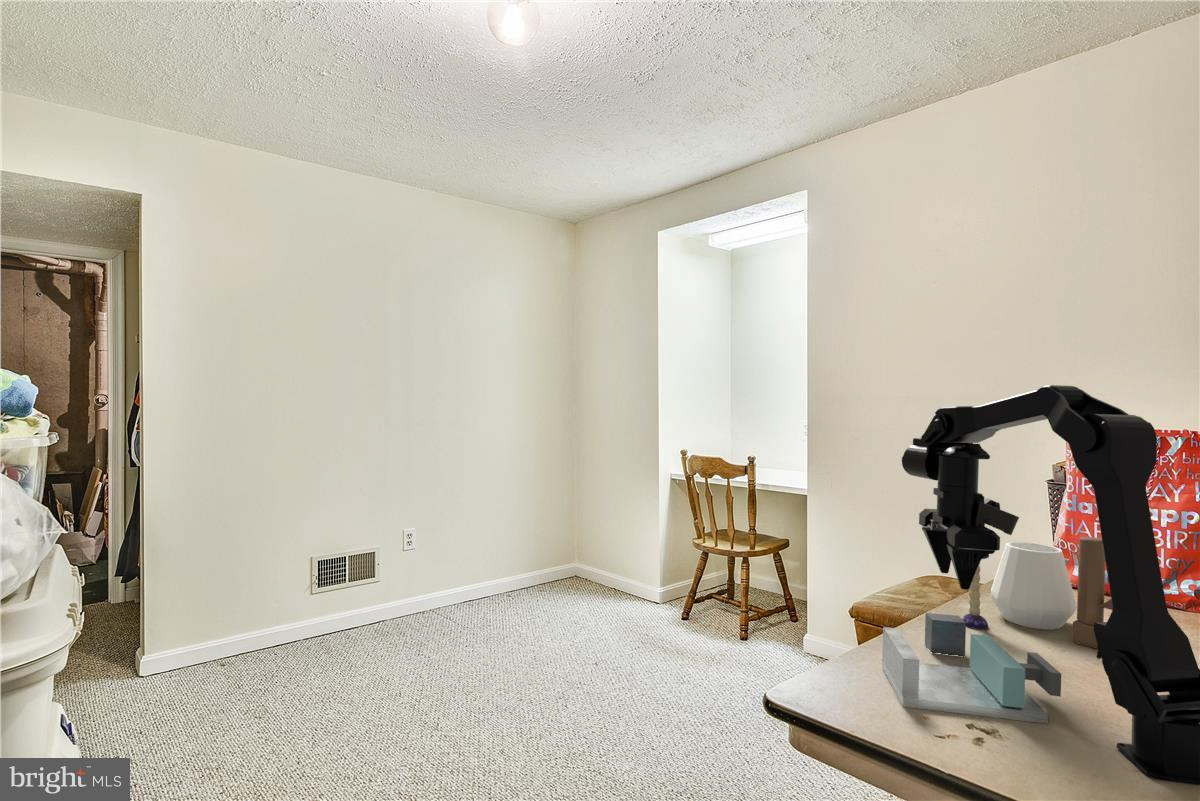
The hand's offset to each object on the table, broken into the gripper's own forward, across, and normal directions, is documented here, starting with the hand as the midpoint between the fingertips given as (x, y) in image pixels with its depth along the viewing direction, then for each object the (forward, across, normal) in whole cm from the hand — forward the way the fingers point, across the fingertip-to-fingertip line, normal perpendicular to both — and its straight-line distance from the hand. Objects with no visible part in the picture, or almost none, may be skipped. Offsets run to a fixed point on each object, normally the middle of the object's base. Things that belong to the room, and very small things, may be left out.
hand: (954, 580), depth 104 cm
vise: (+11, -16, +5) cm, 20 cm away
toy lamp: (+12, +15, -8) cm, 20 cm away
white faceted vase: (+12, +20, -20) cm, 31 cm away
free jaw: (+10, -16, -3) cm, 19 cm away
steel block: (+12, 0, +1) cm, 12 cm away
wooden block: (+12, +7, -27) cm, 30 cm away
